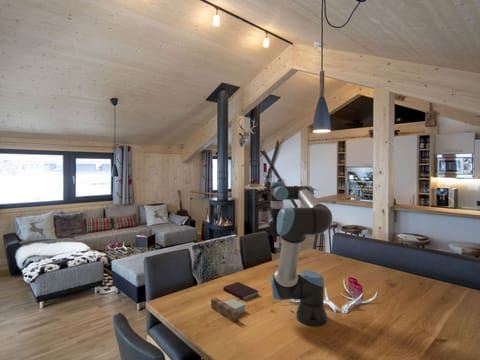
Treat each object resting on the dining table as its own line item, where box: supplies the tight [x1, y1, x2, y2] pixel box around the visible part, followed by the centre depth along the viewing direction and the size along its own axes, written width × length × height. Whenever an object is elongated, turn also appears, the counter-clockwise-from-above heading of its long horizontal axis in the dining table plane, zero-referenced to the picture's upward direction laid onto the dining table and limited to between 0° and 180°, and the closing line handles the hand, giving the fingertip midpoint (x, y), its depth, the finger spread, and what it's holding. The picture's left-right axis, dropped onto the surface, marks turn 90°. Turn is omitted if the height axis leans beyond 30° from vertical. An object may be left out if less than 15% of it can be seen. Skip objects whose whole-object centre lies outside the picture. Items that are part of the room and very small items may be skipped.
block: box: [223, 298, 246, 315], centre depth 158 cm, size 10×8×4 cm
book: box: [222, 281, 259, 302], centre depth 181 cm, size 12×19×3 cm, turn 40°
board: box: [210, 297, 240, 323], centre depth 154 cm, size 20×3×5 cm, turn 40°
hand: (276, 247), depth 175 cm, fingers closed
